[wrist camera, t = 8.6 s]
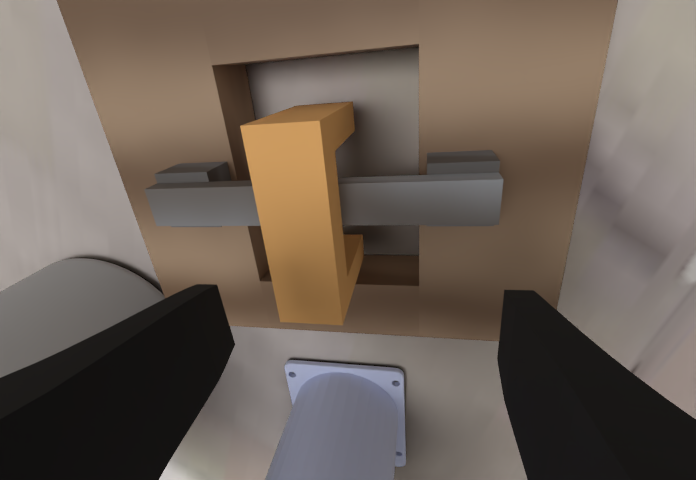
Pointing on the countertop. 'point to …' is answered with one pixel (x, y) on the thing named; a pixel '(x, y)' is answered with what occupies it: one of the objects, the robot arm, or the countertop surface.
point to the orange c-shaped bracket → (304, 210)
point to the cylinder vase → (66, 308)
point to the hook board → (458, 106)
